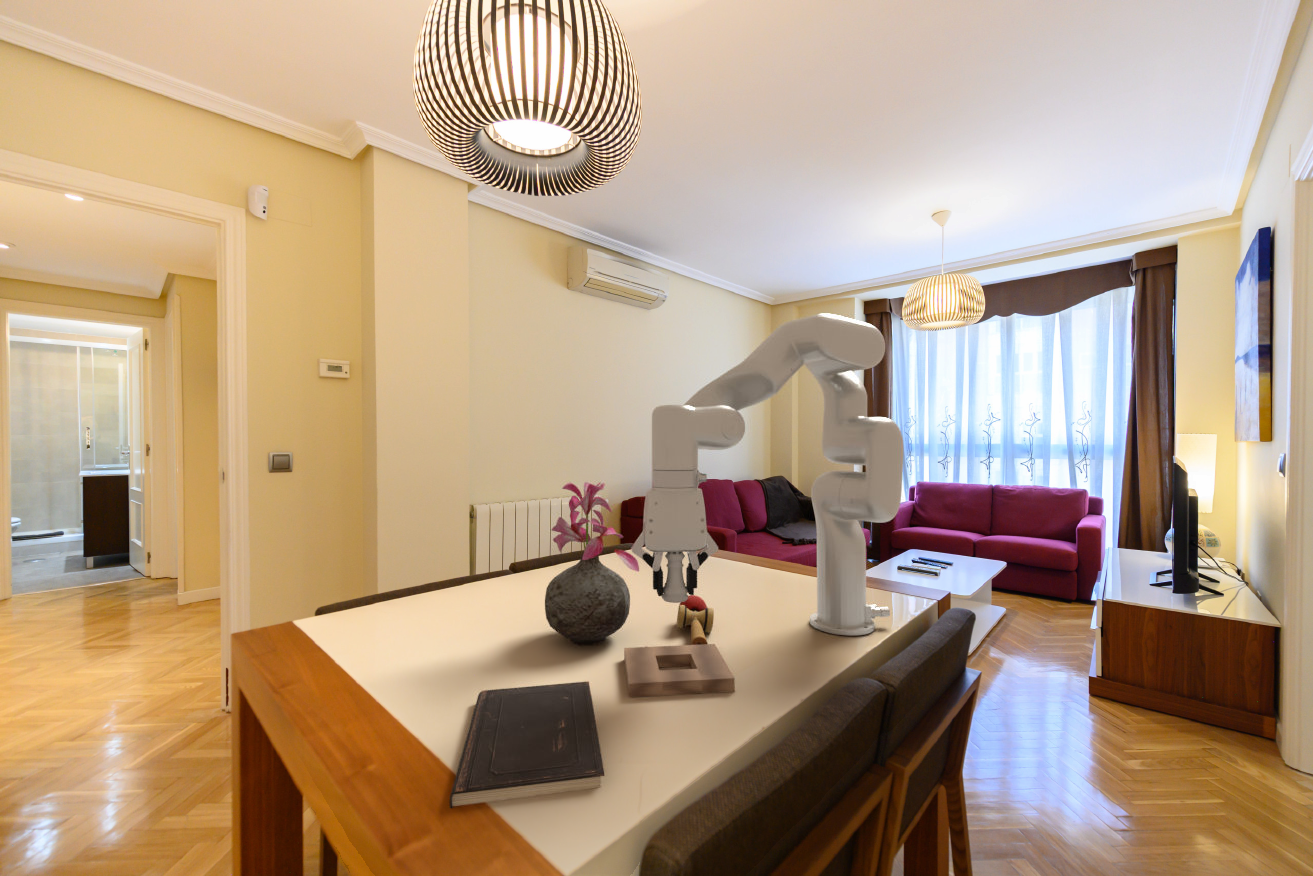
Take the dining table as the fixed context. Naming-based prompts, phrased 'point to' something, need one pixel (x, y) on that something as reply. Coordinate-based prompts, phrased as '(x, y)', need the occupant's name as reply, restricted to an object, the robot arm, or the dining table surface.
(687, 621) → the kendama
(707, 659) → the board
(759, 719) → the dining table surface
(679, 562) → the rook chess piece
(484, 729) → the hardcover book
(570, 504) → the vase
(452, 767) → the dining table surface
